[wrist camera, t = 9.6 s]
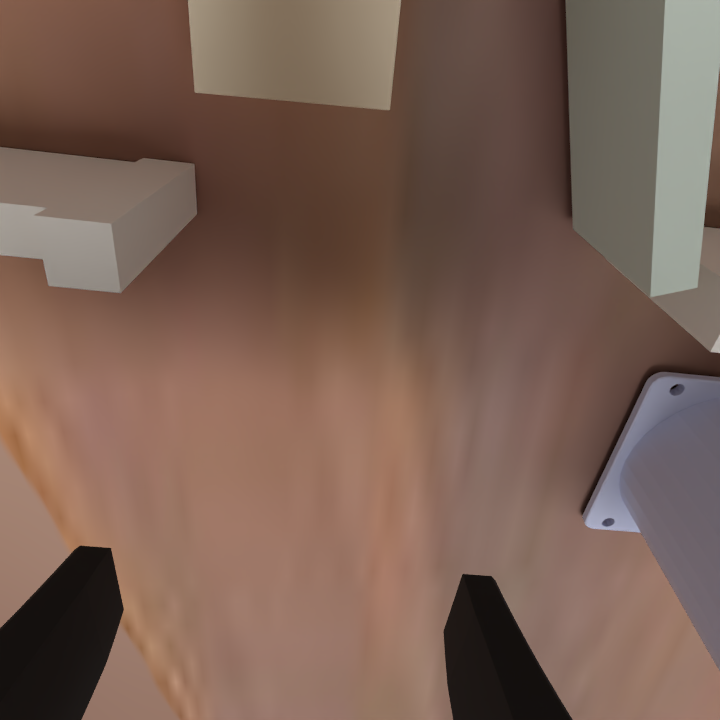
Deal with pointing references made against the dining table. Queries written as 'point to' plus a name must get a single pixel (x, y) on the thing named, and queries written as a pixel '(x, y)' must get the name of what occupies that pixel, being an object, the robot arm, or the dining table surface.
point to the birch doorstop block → (296, 50)
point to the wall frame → (171, 214)
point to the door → (643, 132)
